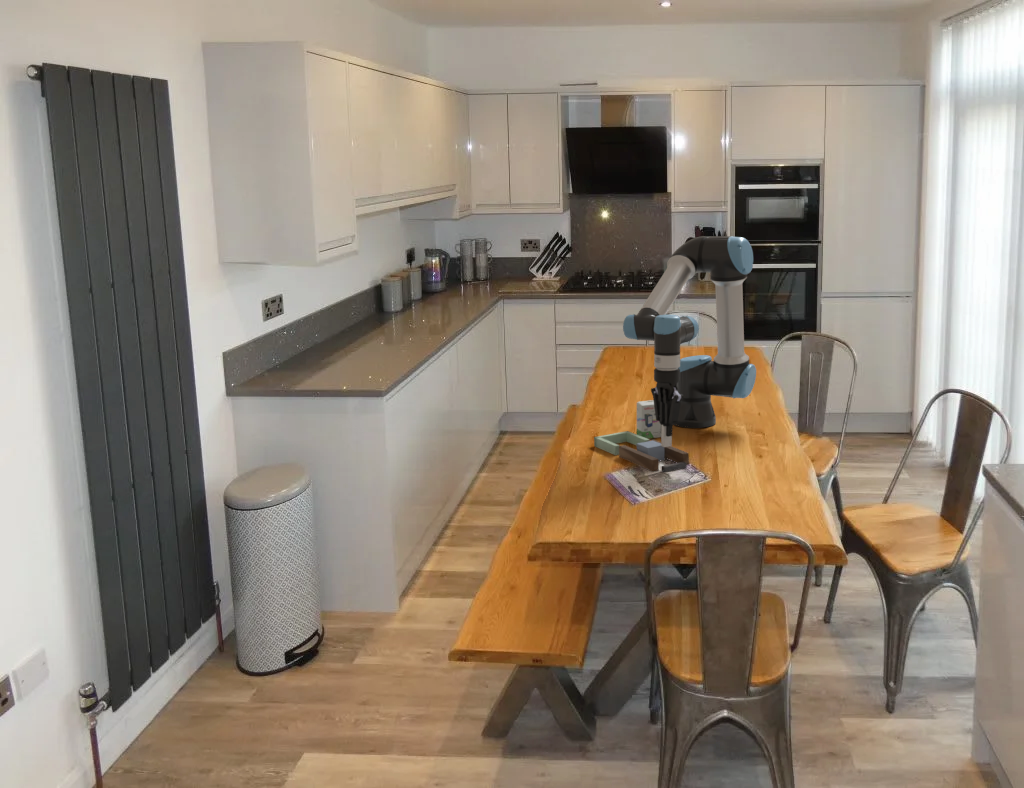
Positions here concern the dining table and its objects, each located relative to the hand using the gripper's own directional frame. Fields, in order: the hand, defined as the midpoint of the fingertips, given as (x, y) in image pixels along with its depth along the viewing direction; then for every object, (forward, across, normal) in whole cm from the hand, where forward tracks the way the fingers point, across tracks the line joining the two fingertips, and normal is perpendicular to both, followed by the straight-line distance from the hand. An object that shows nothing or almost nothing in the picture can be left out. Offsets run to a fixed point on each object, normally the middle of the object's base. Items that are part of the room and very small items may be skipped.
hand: (666, 445), depth 300 cm
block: (+7, -9, 0) cm, 11 cm away
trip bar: (+7, +3, 0) cm, 7 cm away
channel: (+6, -7, 0) cm, 10 cm away
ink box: (+6, -30, +15) cm, 34 cm away
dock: (+6, -24, 0) cm, 25 cm away
